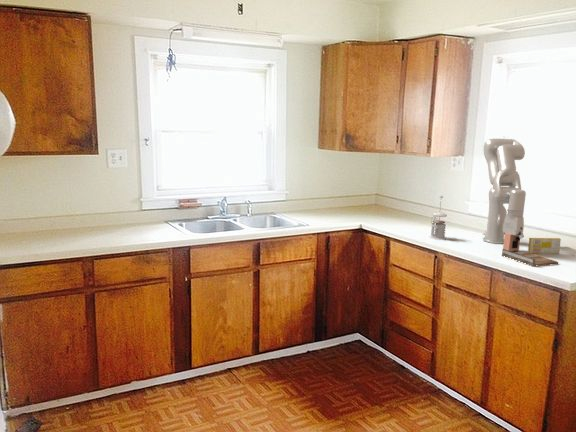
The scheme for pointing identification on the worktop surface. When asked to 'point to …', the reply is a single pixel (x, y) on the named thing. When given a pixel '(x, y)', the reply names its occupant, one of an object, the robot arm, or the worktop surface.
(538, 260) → the shelf board
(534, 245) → the candy box
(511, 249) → the tea box
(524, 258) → the rail
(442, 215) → the french press
